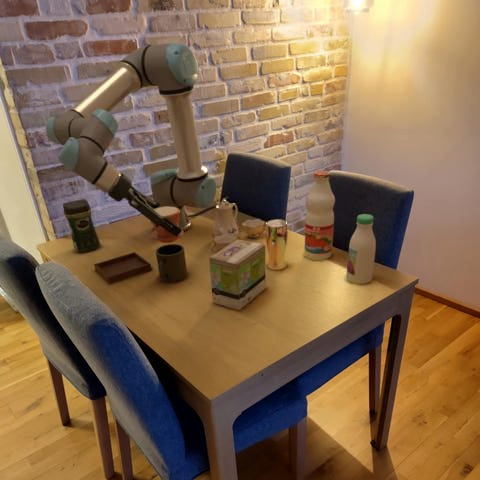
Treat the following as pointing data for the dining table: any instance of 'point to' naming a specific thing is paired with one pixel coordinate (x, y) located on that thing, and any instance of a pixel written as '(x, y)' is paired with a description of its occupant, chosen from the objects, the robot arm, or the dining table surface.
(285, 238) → the beer glass
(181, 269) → the mug
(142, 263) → the tray
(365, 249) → the milk bottle
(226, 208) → the chinaware
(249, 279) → the tea box
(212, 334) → the dining table surface
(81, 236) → the coffee jar
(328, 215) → the fruit juice
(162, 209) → the filter
